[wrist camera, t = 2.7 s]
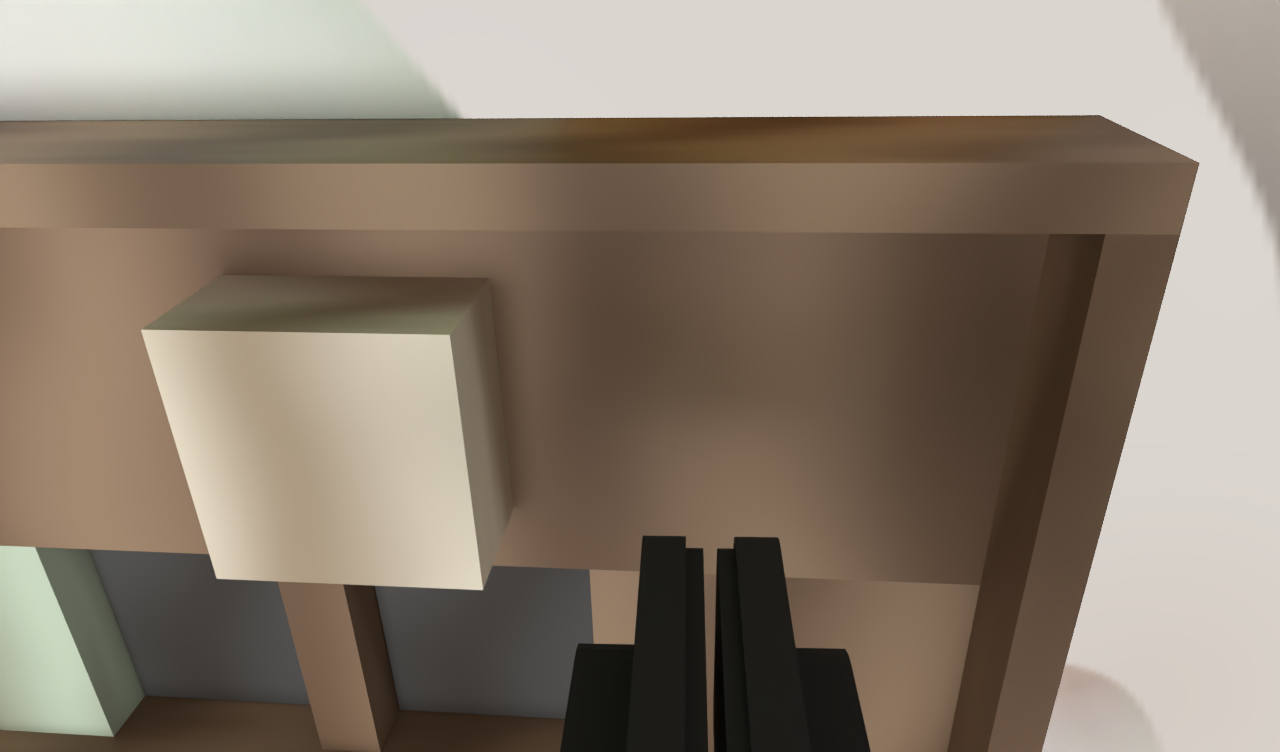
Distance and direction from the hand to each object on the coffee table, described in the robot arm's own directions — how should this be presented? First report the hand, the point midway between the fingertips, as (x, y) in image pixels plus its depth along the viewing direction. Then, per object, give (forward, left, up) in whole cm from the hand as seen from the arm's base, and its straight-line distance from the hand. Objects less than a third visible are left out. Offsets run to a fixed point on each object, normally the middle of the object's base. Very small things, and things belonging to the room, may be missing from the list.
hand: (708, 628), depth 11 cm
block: (+6, 0, -6) cm, 9 cm away
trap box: (+8, +3, -8) cm, 11 cm away
